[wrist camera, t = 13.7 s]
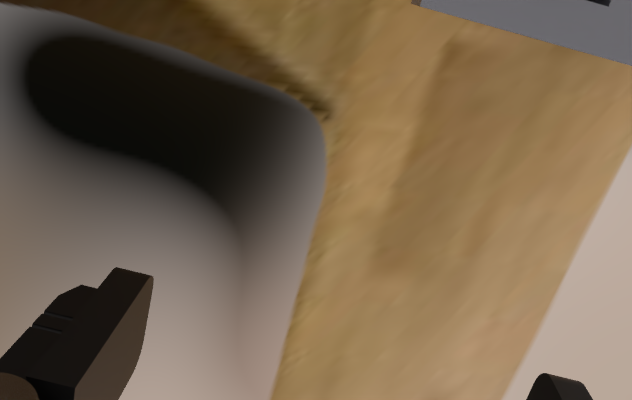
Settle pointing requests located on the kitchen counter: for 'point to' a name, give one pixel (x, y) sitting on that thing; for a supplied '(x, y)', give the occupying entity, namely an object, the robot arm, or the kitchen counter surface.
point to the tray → (554, 22)
